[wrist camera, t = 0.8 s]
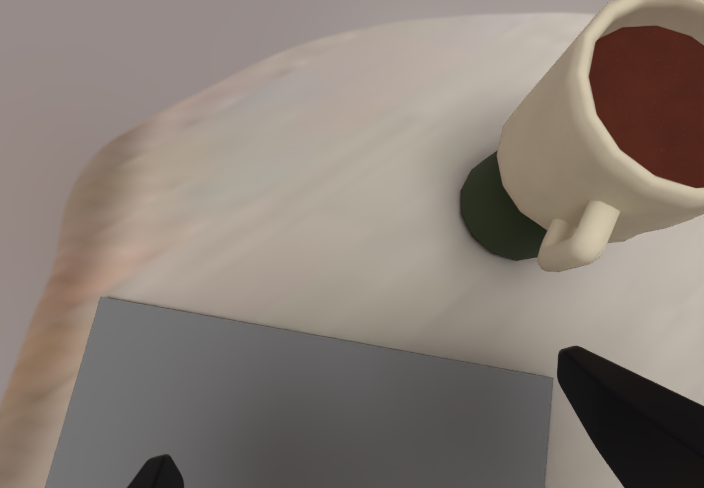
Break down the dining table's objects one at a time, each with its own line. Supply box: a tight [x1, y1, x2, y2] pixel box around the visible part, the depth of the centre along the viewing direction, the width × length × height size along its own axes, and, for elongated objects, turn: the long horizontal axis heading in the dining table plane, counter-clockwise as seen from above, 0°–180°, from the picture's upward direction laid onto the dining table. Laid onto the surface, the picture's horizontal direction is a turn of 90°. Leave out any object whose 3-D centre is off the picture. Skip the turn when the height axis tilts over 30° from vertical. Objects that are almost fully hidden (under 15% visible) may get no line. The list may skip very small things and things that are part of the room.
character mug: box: [461, 0, 704, 272], centre depth 19 cm, size 11×7×13 cm, turn 152°
